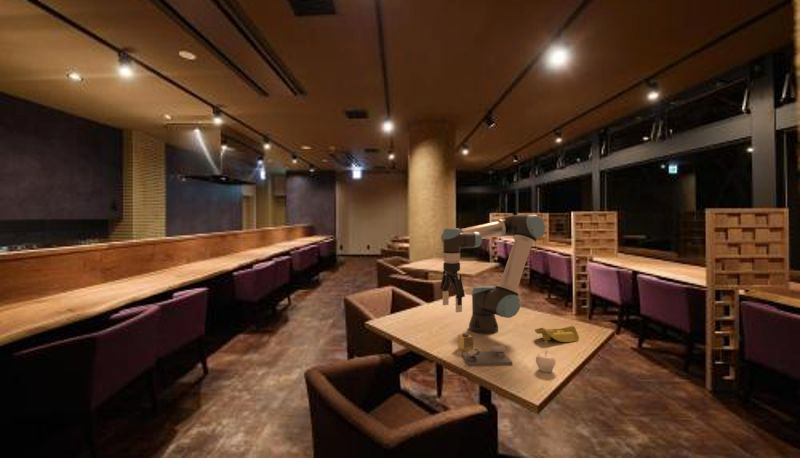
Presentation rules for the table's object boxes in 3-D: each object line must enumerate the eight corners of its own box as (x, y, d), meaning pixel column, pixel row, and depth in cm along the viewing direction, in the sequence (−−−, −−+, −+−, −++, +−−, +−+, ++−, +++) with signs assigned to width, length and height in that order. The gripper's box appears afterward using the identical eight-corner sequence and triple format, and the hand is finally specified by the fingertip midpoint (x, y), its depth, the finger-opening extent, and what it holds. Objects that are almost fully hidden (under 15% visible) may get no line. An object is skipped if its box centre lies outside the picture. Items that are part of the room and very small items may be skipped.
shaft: (473, 356, 153) (473, 347, 153) (480, 359, 150) (480, 349, 150) (465, 359, 150) (465, 350, 150) (472, 362, 147) (472, 352, 147)
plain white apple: (558, 374, 139) (559, 353, 138) (540, 374, 138) (541, 354, 138) (549, 366, 146) (550, 346, 145) (532, 367, 145) (532, 347, 145)
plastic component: (561, 328, 186) (576, 325, 178) (565, 343, 183) (580, 340, 175) (530, 330, 179) (544, 326, 171) (534, 346, 176) (548, 343, 168)
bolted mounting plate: (502, 353, 159) (502, 341, 159) (512, 364, 147) (512, 351, 147) (461, 354, 158) (461, 342, 158) (468, 366, 146) (468, 353, 146)
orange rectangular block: (467, 347, 168) (467, 332, 167) (473, 350, 163) (473, 335, 163) (458, 348, 166) (458, 333, 166) (463, 352, 161) (463, 336, 161)
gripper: (433, 259, 176) (433, 302, 177) (456, 266, 152) (456, 316, 153) (447, 258, 178) (447, 301, 179) (472, 265, 155) (472, 314, 155)
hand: (451, 308), depth 166 cm, fingers open, 13 cm apart
